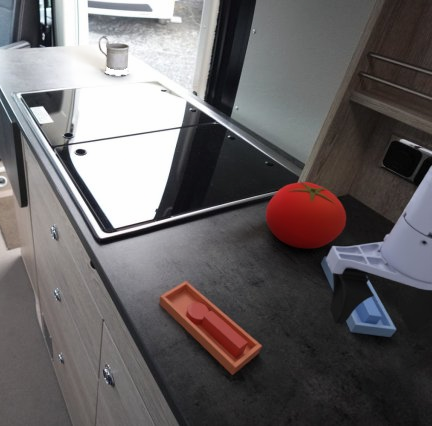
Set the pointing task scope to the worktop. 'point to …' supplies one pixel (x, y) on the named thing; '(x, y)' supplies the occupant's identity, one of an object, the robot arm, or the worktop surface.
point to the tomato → (305, 215)
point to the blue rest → (354, 322)
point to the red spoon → (216, 328)
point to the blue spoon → (368, 312)
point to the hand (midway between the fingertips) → (371, 320)
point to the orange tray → (177, 307)
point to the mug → (116, 55)
